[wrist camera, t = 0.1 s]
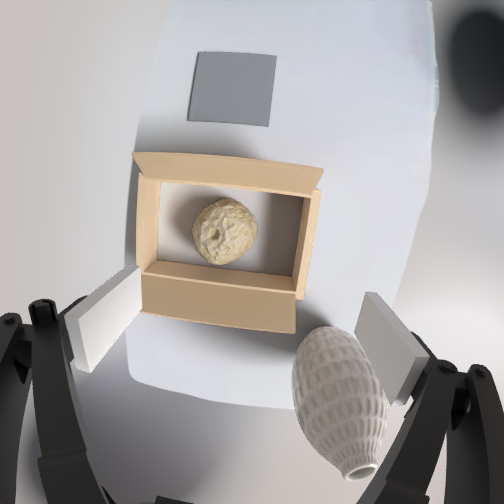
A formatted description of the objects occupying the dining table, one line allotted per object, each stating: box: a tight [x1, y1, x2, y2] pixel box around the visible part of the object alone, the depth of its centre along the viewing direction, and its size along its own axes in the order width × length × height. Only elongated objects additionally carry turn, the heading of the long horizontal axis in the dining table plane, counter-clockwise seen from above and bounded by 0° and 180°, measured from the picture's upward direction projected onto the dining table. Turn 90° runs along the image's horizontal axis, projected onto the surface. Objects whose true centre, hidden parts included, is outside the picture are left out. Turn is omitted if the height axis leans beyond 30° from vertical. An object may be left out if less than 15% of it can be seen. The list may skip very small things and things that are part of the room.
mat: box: [188, 52, 277, 127], centre depth 37 cm, size 12×12×1 cm
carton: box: [132, 152, 323, 334], centre depth 37 cm, size 20×24×11 cm
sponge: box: [192, 199, 258, 265], centre depth 40 cm, size 9×10×10 cm
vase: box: [292, 326, 388, 481], centre depth 34 cm, size 13×13×28 cm
